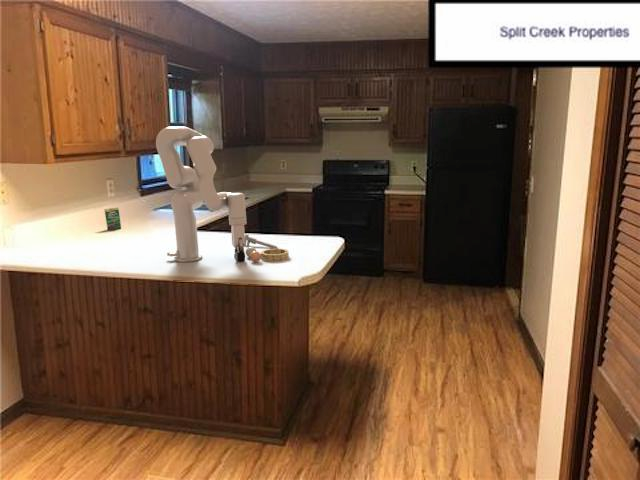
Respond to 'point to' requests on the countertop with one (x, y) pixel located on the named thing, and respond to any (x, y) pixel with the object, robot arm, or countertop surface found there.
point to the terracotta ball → (255, 256)
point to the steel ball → (236, 256)
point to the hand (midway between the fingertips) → (240, 259)
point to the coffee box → (112, 218)
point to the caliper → (258, 242)
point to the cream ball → (250, 251)
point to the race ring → (274, 255)
